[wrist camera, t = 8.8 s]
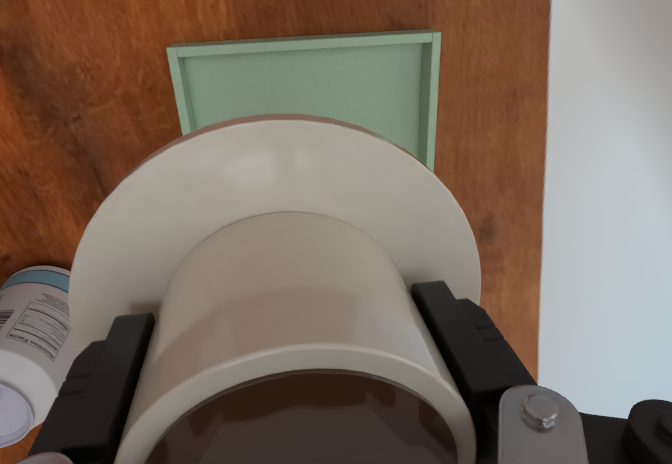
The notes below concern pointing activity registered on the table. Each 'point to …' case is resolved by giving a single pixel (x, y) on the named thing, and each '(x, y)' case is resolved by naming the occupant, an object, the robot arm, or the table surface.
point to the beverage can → (33, 347)
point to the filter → (281, 297)
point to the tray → (316, 82)
